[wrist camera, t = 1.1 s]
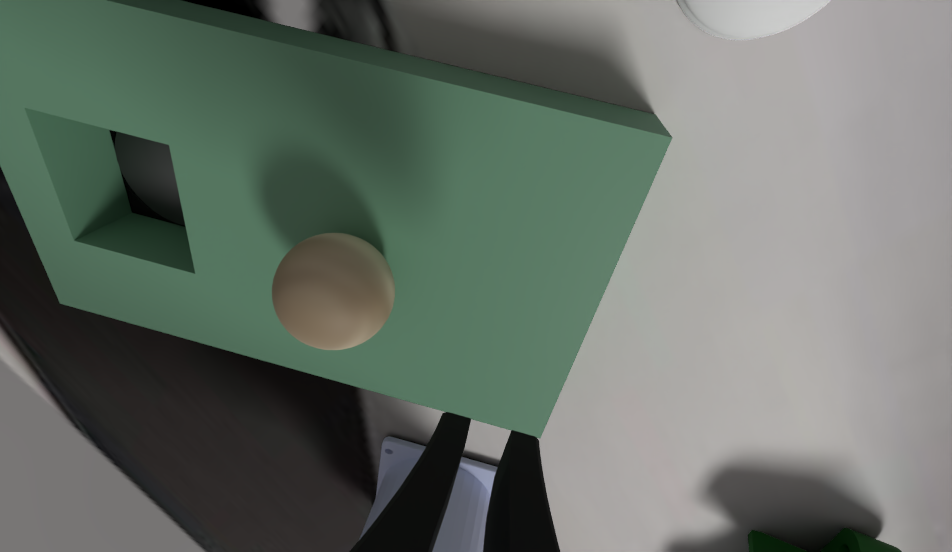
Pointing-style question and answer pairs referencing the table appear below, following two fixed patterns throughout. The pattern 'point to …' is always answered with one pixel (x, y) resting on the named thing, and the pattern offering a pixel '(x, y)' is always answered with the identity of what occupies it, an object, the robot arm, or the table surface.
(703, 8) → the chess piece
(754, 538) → the clamp
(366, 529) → the robot arm
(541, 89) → the putting board
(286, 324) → the maple ball
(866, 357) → the table surface
